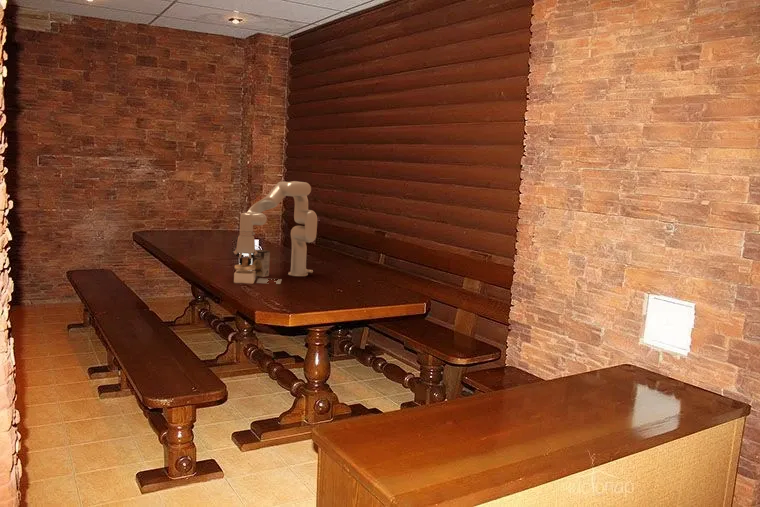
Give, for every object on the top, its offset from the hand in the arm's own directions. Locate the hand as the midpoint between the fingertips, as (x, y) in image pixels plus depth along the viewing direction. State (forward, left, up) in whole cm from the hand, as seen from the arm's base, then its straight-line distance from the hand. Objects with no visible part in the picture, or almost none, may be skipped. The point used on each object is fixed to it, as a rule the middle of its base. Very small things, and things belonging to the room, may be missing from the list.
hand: (245, 264), depth 368 cm
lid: (0, 0, -2) cm, 2 cm away
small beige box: (0, 0, -10) cm, 10 cm away
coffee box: (-7, -21, -11) cm, 25 cm away
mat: (-14, -4, -10) cm, 18 cm away
